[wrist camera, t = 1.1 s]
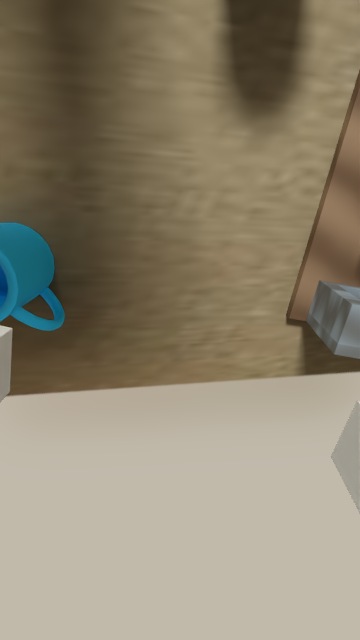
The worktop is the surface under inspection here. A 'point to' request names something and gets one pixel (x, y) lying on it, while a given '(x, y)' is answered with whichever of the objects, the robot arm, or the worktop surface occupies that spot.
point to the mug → (26, 276)
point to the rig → (335, 249)
